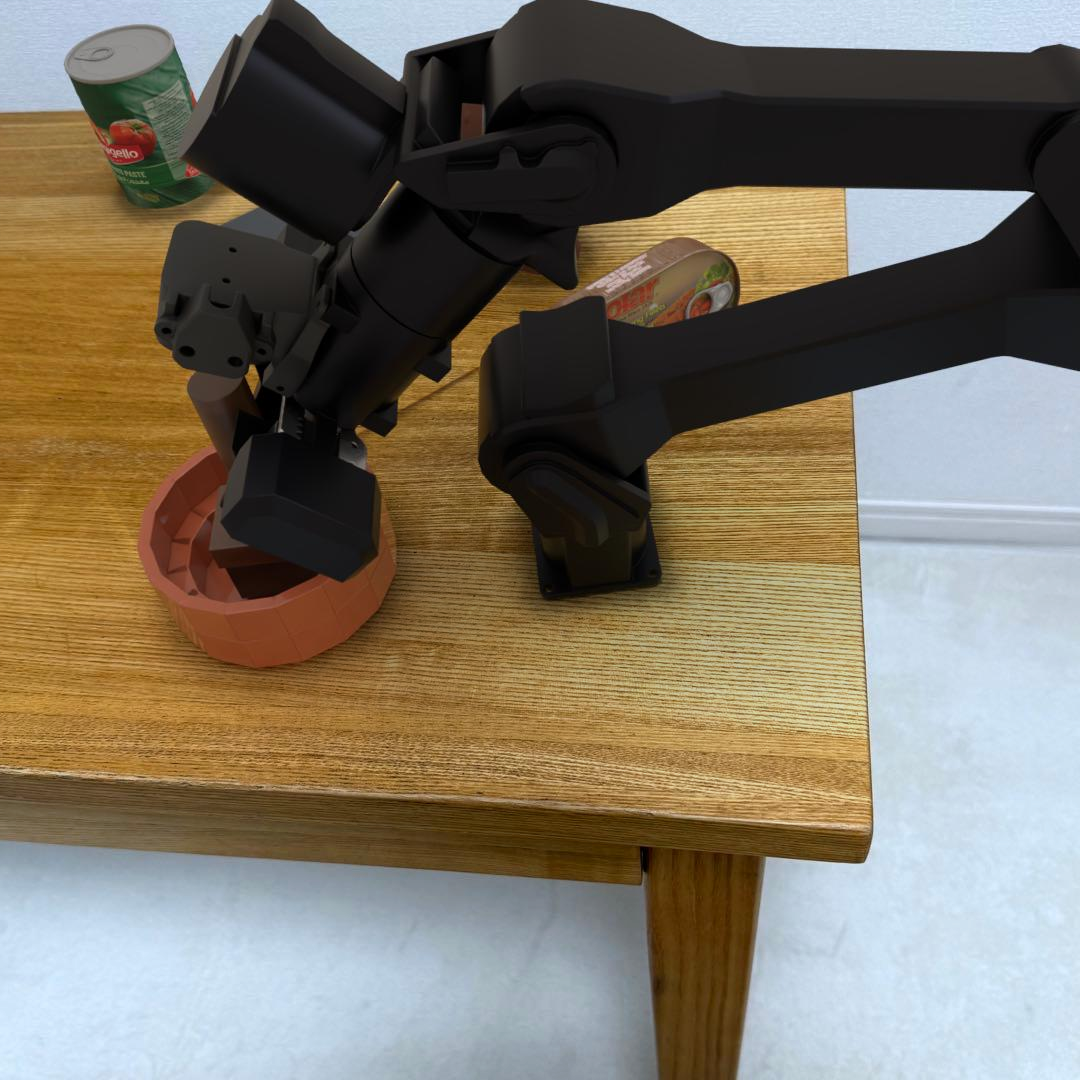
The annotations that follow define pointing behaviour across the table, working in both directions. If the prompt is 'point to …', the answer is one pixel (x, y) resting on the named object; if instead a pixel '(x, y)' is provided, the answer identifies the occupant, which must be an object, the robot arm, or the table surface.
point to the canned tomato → (139, 111)
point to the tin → (666, 284)
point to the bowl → (211, 597)
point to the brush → (241, 561)
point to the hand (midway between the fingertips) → (233, 486)
